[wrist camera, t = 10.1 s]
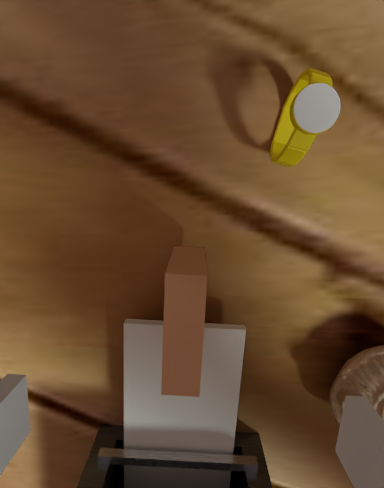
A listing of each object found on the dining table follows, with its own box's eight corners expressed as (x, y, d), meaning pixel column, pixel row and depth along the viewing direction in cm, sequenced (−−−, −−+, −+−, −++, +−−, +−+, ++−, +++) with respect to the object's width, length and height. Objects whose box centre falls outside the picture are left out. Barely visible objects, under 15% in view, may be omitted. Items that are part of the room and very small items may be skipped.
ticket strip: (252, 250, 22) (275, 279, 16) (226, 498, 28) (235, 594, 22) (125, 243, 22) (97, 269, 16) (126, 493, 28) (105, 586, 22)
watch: (279, 85, 22) (312, 42, 16) (313, 95, 22) (359, 57, 16) (256, 163, 22) (279, 150, 17) (288, 172, 23) (323, 163, 17)
